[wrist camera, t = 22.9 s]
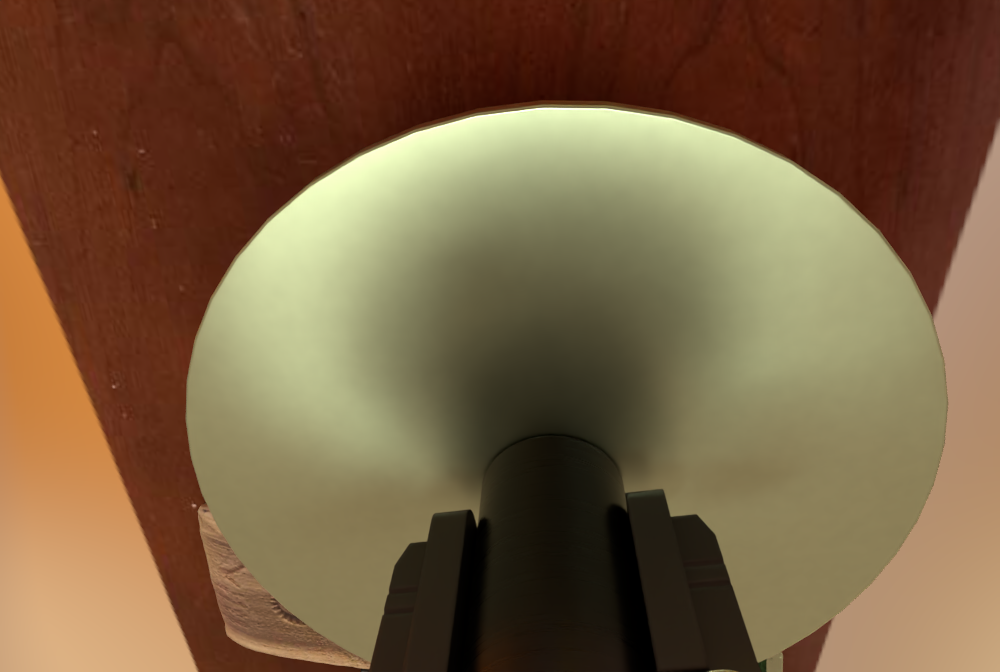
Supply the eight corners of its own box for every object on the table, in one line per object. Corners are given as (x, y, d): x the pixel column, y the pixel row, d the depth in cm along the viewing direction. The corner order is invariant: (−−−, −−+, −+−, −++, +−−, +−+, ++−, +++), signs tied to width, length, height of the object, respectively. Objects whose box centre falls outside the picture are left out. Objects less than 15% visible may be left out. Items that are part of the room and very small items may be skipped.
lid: (977, 3, 10) (1788, 25, 3) (881, 645, 17) (1082, 1026, 11) (75, 182, 12) (-445, 398, 5) (335, 684, 19) (238, 1022, 13)
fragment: (208, 447, 37) (157, 503, 32) (478, 466, 35) (465, 528, 31) (244, 610, 42) (205, 677, 38) (479, 632, 41) (468, 705, 36)
